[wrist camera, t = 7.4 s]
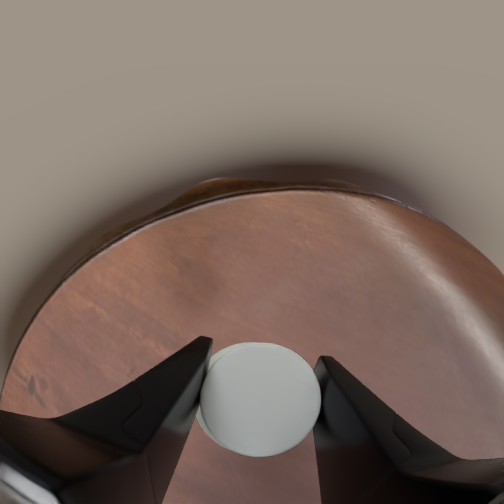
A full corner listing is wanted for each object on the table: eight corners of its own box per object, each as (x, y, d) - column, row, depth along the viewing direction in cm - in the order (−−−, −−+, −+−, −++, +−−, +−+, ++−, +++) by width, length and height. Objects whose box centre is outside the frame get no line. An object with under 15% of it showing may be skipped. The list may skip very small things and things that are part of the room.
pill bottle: (266, 446, 13) (306, 488, 6) (188, 416, 13) (158, 437, 6) (295, 374, 15) (356, 354, 8) (220, 345, 15) (220, 302, 8)
